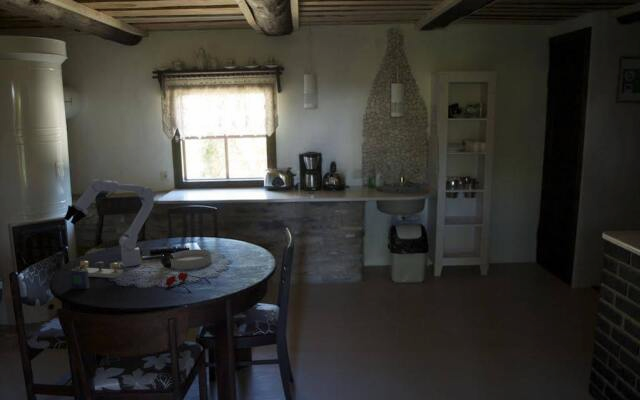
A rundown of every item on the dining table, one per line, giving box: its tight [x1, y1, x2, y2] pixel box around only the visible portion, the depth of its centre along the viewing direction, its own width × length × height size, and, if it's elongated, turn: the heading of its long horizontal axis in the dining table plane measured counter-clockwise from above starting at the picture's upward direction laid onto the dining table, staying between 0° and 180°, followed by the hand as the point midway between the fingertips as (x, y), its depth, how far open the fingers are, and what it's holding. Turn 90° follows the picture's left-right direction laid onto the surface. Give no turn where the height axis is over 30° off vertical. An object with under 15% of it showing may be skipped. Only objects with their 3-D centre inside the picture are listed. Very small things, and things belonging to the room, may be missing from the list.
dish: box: [169, 248, 212, 270], centre depth 275 cm, size 22×22×5 cm
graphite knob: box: [94, 260, 105, 270], centre depth 258 cm, size 4×4×4 cm
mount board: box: [82, 267, 124, 279], centre depth 259 cm, size 22×7×2 cm, turn 76°
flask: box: [70, 265, 90, 291], centre depth 238 cm, size 9×3×11 cm, turn 74°
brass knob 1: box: [79, 260, 90, 269], centre depth 260 cm, size 4×4×4 cm
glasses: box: [164, 271, 212, 294], centre depth 239 cm, size 14×16×5 cm
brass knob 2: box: [110, 261, 120, 271], centre depth 256 cm, size 4×4×4 cm
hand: (69, 221), depth 253 cm, fingers open, 7 cm apart
